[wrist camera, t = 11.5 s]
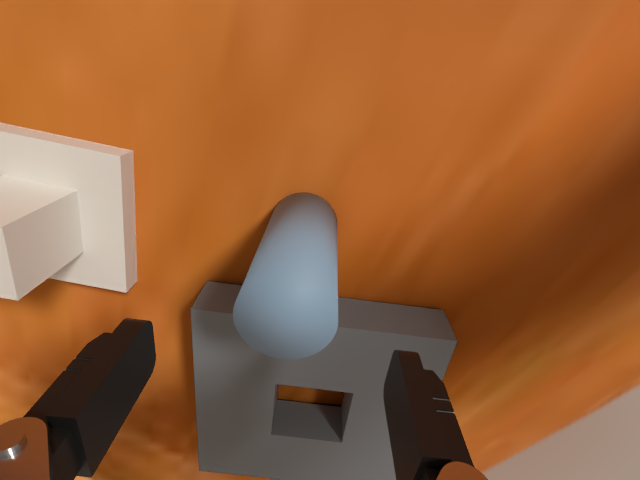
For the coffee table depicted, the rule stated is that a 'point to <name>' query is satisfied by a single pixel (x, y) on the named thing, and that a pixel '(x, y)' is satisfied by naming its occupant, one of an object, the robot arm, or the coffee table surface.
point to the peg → (292, 282)
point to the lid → (64, 212)
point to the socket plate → (310, 372)
